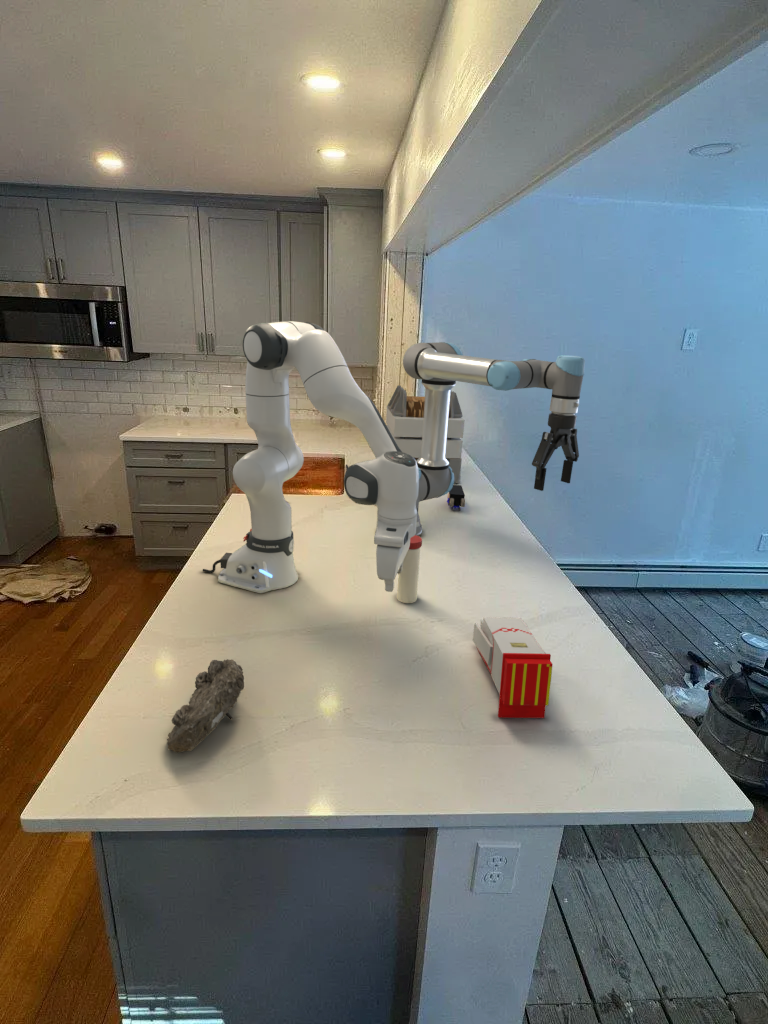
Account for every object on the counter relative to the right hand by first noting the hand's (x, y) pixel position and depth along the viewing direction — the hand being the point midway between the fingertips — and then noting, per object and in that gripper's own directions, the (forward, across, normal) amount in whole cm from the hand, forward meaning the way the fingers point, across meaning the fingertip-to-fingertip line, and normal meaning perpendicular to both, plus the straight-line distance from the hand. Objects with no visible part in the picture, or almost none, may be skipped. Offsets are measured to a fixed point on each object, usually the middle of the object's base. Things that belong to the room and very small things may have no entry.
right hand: (552, 485), depth 166 cm
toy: (+28, -51, -27) cm, 64 cm away
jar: (+28, -45, +12) cm, 54 cm away
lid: (+11, -45, +12) cm, 47 cm away
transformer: (+28, +46, +101) cm, 115 cm away
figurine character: (+28, +24, +57) cm, 68 cm away
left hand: (+12, -62, -1) cm, 63 cm away
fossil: (+28, -107, 0) cm, 110 cm away
